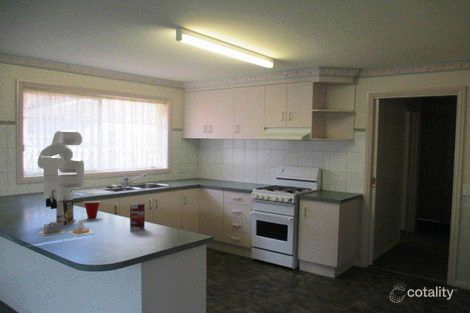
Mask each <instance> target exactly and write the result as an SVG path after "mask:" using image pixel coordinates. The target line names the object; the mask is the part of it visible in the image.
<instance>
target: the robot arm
mask: <svg viewBox="0 0 470 313" xmlns="http://www.w3.org/2000/svg"><path fill="white" fill-rule="evenodd" d="M82 143H83V137H82V134H81V133H80V132H79V131H76V130H57V131H56V132H55V133H54V135H53V138H52V141H51V144H50V145H48V146H46V147H45V148H43V149H42V150H41V151H40V153H39V156H38V159H37V166H38V168H39V169H41V170H43V182H44V186H43V197H44V198H45V208H50V209H51V210H54V209H55V210H56V209H57V202H58V201H62V200H73V201H74V198H73V197H74V196H73V193H72V192H71V191H70V189H71V190H72V189H81V188H83V187H84V182H85V162H84V160H82V159H81V158H80V159H79V158H73V155H74V152H73V151H72V149H71V148H70V147H69V146H80V145H82ZM59 172H60V173H62V174H60V175H59ZM76 220H77V219H76V218H75V217H74V222H76ZM54 223H56V219H55V220H54Z"/></svg>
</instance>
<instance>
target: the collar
mask: <svg viewBox="0 0 470 313" xmlns="http://www.w3.org/2000/svg"><path fill="white" fill-rule="evenodd" d="M60 229H61V225H60V224H58V223H56V222H54V225H51V226H50V223H47V224H43V231H44V233H46V234H53V233H59V232H60ZM53 235H54V234H53Z"/></svg>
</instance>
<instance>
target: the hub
mask: <svg viewBox="0 0 470 313" xmlns="http://www.w3.org/2000/svg"><path fill="white" fill-rule="evenodd" d="M66 233H69V234H70V235H73V236H77V238H78V237H80V235H83V237H84V236H86V237H87V235H84V234H89V236H90V235H93V233H96V231H95V230H93V229H91V228H88V227H86V228H84V219H79V220H78V228H76V229H73V230H68V231H66ZM91 233H92V234H91Z"/></svg>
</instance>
